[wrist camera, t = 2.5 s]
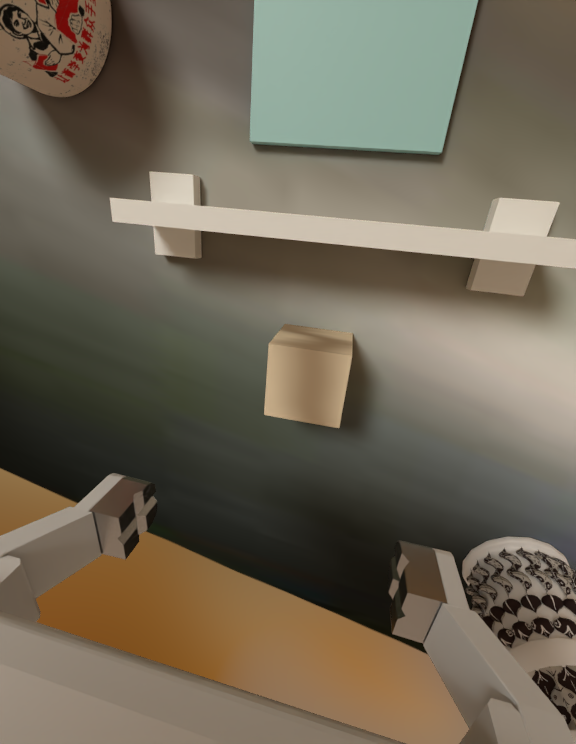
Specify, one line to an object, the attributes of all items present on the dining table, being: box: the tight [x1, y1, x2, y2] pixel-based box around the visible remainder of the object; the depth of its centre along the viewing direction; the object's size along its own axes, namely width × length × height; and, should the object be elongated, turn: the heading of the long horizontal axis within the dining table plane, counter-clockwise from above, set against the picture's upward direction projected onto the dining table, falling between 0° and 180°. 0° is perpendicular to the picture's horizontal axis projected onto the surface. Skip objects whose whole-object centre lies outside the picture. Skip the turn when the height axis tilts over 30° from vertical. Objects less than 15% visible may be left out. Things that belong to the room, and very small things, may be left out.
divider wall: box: [110, 171, 576, 296], centre depth 18 cm, size 24×5×5 cm, turn 85°
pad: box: [250, 0, 478, 155], centre depth 16 cm, size 11×11×1 cm
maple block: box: [264, 324, 353, 428], centre depth 22 cm, size 5×5×5 cm
